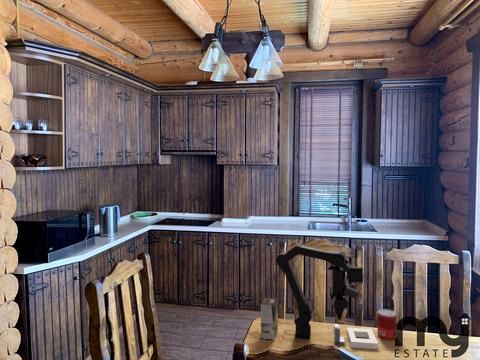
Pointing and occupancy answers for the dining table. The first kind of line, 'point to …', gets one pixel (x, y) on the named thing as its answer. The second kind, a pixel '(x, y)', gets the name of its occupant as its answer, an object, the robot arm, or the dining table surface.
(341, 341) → the bracket
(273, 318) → the coffee box
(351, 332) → the well
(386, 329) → the canned food
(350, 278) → the robot arm
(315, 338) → the dining table surface
